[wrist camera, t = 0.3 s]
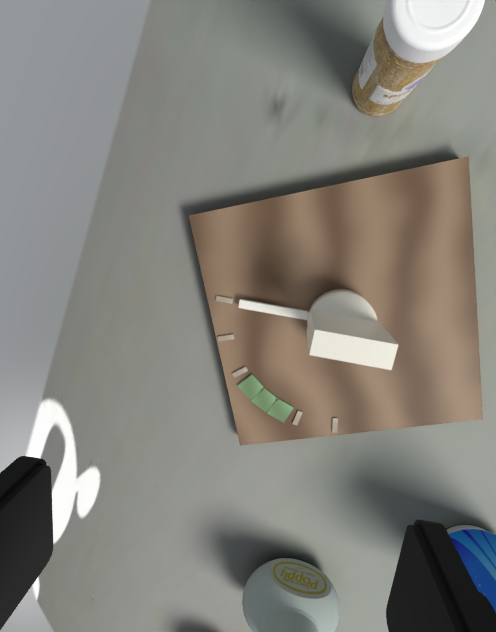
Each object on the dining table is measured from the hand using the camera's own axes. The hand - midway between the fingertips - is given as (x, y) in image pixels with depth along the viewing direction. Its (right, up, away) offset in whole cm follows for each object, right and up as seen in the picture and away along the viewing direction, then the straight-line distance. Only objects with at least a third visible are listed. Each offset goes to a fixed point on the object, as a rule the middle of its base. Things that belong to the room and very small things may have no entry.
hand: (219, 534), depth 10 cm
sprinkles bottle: (+12, +25, +22) cm, 35 cm away
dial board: (+10, +6, +27) cm, 29 cm away
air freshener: (+6, -26, +36) cm, 45 cm away
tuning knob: (+6, +6, +25) cm, 27 cm away
